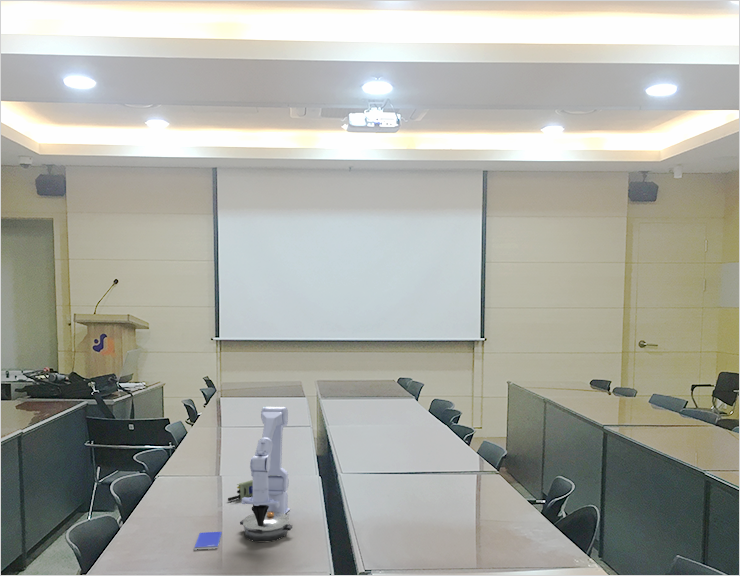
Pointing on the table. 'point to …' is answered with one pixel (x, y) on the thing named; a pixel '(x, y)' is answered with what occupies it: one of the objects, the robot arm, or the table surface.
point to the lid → (266, 522)
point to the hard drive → (208, 540)
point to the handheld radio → (244, 490)
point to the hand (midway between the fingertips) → (260, 524)
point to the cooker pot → (267, 534)
